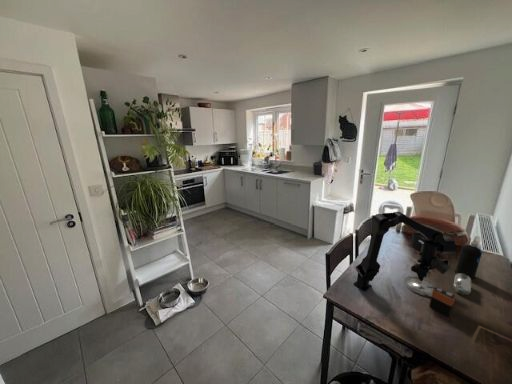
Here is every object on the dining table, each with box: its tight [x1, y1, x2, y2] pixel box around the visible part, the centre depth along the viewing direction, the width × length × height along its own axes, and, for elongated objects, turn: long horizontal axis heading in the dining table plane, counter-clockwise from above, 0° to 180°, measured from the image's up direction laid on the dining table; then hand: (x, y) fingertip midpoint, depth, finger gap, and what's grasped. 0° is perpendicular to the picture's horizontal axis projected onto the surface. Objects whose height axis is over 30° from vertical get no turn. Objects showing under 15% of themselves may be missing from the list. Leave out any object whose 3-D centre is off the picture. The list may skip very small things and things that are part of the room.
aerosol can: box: [454, 241, 483, 280], centre depth 111 cm, size 8×8×20 cm
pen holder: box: [410, 231, 429, 252], centre depth 141 cm, size 9×9×10 cm
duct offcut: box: [452, 273, 472, 296], centre depth 103 cm, size 10×6×6 cm, turn 134°
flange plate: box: [404, 276, 437, 298], centre depth 106 cm, size 14×14×1 cm
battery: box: [429, 286, 457, 317], centre depth 91 cm, size 4×7×10 cm, turn 34°
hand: (422, 279), depth 104 cm, fingers open, 4 cm apart
